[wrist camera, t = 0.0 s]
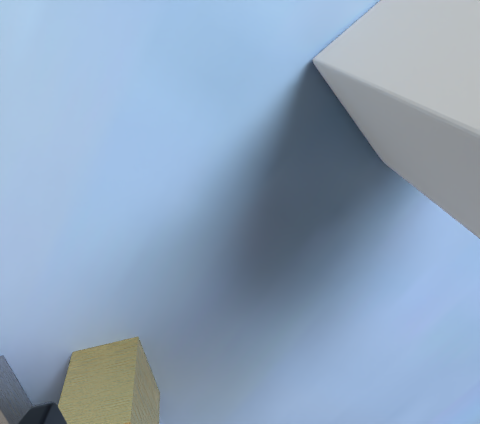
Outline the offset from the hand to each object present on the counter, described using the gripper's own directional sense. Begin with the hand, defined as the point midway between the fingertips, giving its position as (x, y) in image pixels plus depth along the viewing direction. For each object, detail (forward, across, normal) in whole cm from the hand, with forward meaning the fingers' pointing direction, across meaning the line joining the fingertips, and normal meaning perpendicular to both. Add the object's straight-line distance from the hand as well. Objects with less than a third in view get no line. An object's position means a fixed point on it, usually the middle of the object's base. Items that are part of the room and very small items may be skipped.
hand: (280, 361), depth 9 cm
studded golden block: (+15, +9, +13) cm, 22 cm away
